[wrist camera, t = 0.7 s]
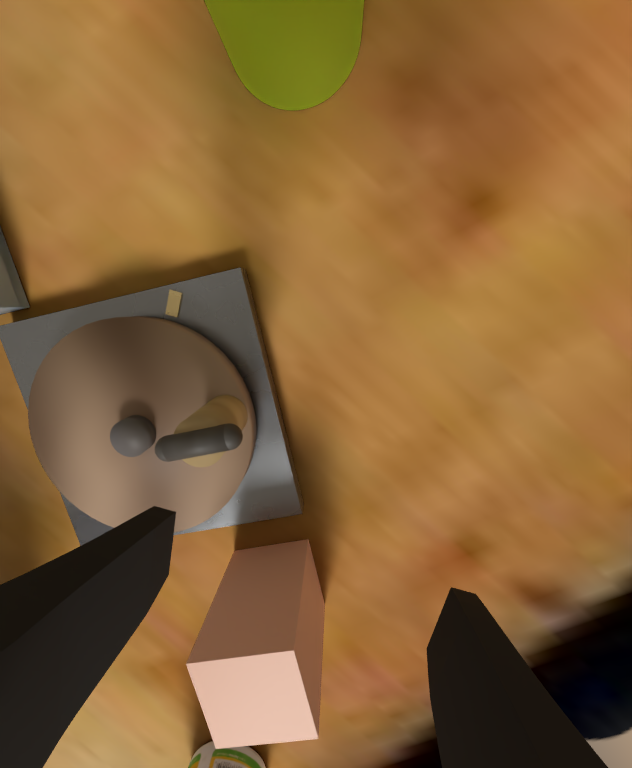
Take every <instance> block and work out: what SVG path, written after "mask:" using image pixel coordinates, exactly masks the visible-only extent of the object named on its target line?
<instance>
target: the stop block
mask: <svg viewBox="0 0 632 768" xmlns="http://www.w3.org/2000/svg"><path fill="white" fill-rule="evenodd" d="M324 612H325V603H324V599H323V595H322V591H321V587H320V583H319V579H318V575H317V571H316V567H315V563H314V559H313V555H312V551H311V547H310V543H309V539H306V540H300V541H293V542H287V543H281V544H274V545H268V546H262V547H255V548H249V549H243V550H236V551H234V553H233V555H232V558H231V560H230V562H229V565H228V567H227V569H226V572H225V574H224V576H223V579H222V581H221V583H220V586H219V588H218V590H217V593H216V595H215V597H214V600H213V602H212V604H211V607H210V609H209V611H208V614H207V616H206V618H205V621H204V623H203V626H202V628H201V630H200V633H199V635H198V637H197V640H196V642H195V644H194V647H193V649H192V651H191V654H190V656H189V658H188V661H187V663H186V665H187V668H188V671H189V674H190V676H191V679H192V682H193V685H194V688H195V691H196V694H197V696H198V699H199V702H200V705H201V708H202V711H203V713H204V716H205V719H206V722H207V725H208V728H209V731H210V733H211V736H212V739H213V742H214V745H215V748H216V749H221V748H231V747H241V746H251V745H261V744H271V743H281V742H291V741H301V740H311V739H318V737H319V716H320V695H321V674H322V654H323V633H324Z"/></svg>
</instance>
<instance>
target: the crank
mask: <svg viewBox="0 0 632 768" xmlns="http://www.w3.org/2000/svg"><path fill="white" fill-rule="evenodd" d="M28 419H29V429H30V434H31V439H32V442H33V445H34V448H35V452H36V454H37V456H38V459H39V461H40V463H41V465H42V467H43V469H44V470H45V472H46V474H47V475H48V477H49V478H50V480H51V481H52V482H53V484H54V485H55V486H56V487H57V489H58V490H59V491H60V492H61V493H62V494H63V495H64V496H65V497H66V498H67V499H68V500H69V501H70V502H71V503H72V504H74V505H75V506H76V507H77V508H78V509H80V510H81V511H83V512H84V513H86V514H87V515H89V516H90V517H92V518H94V519H96V520H97V521H99V522H101V523H103V524H106V525H108V526H111V527H113V528H115V527H117V526H119V525H120V524H122V523H124V522H126V521H128V520H129V519H131V518H133V517H135V516H137V515H138V514H140V513H142V512H144V511H146V510H148V509H149V508H151V507H153V506H157V507H160V508H164V509H167V510H171V511H175V512H176V518H175V526H174V533H175V532H179V531H183V530H186V529H189V528H192V527H194V526H197V525H199V524H201V523H202V522H204V521H206V520H208V519H209V518H211V517H212V516H213V515H215V514H216V513H217V512H219V511H220V510H221V509H222V508H223V507H224V506H225V505H226V504H227V503H228V502H229V500H230V499H231V498H232V496H233V495H234V494H235V492H236V491H237V489H238V487H239V485H240V483H241V482H242V480H243V478H244V476H245V474H246V473H247V471H248V469H249V466H250V463H251V461H252V458H253V454H254V449H255V444H256V417H255V412H254V407H253V403H252V400H251V397H250V394H249V391H248V389H247V387H246V385H245V383H244V380H243V378H242V377H241V375H240V374H239V372H238V371H237V369H236V367H235V366H234V365H233V363H232V362H231V361H230V360H229V359H228V357H227V356H226V355H225V354H224V353H223V352H222V351H221V350H220V349H219V348H218V347H217V346H216V345H215V344H213V343H212V342H211V341H209V340H208V339H207V338H205V337H204V336H202V335H201V334H199V333H197V332H196V331H194V330H192V329H190V328H188V327H186V326H183V325H181V324H178V323H176V322H173V321H169V320H165V319H161V318H155V317H146V316H135V317H115V318H109V319H103V320H99V321H95V322H92V323H89V324H86V325H84V326H82V327H80V328H78V329H76V330H74V331H72V332H71V333H69V334H68V335H67V336H65V337H64V338H62V339H61V340H60V341H59V342H58V343H57V344H56V345H55V346H54V347H53V348H52V349H51V350H50V351H49V353H48V354H47V355H46V357H45V358H44V359H43V361H42V363H41V365H40V366H39V368H38V370H37V372H36V375H35V377H34V380H33V383H32V386H31V391H30V396H29V406H28Z"/></svg>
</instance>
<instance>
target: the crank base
mask: <svg viewBox="0 0 632 768" xmlns="http://www.w3.org/2000/svg"><path fill="white" fill-rule="evenodd" d="M135 316H146V317H155V318H161V319H165V320H169V321H173V322H176V323H178V324H181V325H183V326H186V327H188V328H190V329H192V330H194V331H196V332H197V333H199V334H201V335H202V336H204V337H205V338H207V339H208V340H209V341H211V342H212V343H213V344H215V345H216V346H217V347H218V348H219V349H220V350H221V351H222V352H223V353H224V354H225V355H226V356H227V357H228V359H229V360H230V361H231V362H232V363H233V365H234V366H235V367H236V369H237V371H238V372H239V374H240V375H241V377H242V378H243V380H244V383H245V385H246V387H247V389H248V391H249V394H250V397H251V400H252V403H253V407H254V412H255V417H256V444H255V449H254V454H253V458H252V461H251V463H250V466H249V469H248V471H247V473H246V474H245V476H244V478H243V480H242V482H241V483H240V485H239V487H238V489H237V491H236V492H235V494H234V495H233V496H232V498H231V499H230V500H229V502H228V503H227V504H226V505H225V506H224V507H223V508H222V509H221V510H220V511H219V512H217V513H216V514H215V515H213V516H212V517H211V518H209V519H208V520H206V521H204V522H202V523H201V524H199V525H197V526H194V527H192V528H189V529H186V530H183V531H179V532H175V533H174V535H178V534H184V533H190V532H196V531H202V530H208V529H214V528H220V527H226V526H232V525H238V524H244V523H250V522H256V521H262V520H268V519H274V518H280V517H286V516H292V515H298V514H302V512H303V506H304V502H303V498H302V494H301V490H300V486H299V482H298V478H297V474H296V470H295V466H294V462H293V458H292V454H291V450H290V446H289V442H288V438H287V434H286V430H285V426H284V422H283V418H282V414H281V410H280V406H279V401H278V397H277V393H276V389H275V385H274V381H273V377H272V373H271V369H270V365H269V361H268V357H267V353H266V349H265V345H264V341H263V337H262V333H261V329H260V325H259V321H258V317H257V313H256V309H255V305H254V301H253V297H252V293H251V289H250V285H249V281H248V276H247V272H246V269H243V268H241V267H240V268H236V269H232V270H228V271H224V272H220V273H215V274H211V275H207V276H203V277H199V278H195V279H191V280H187V281H183V282H178V283H174V284H170V285H166V286H162V287H158V288H154V289H150V290H146V291H141V292H137V293H133V294H129V295H125V296H121V297H117V298H113V299H108V300H104V301H100V302H96V303H92V304H88V305H84V306H80V307H76V308H71V309H67V310H63V311H59V312H55V313H51V314H47V315H43V316H39V317H34V318H30V319H26V320H22V321H18V322H14V323H10V324H6V325H2V326H0V339H1V342H2V344H3V347H4V349H5V352H6V354H7V357H8V360H9V362H10V365H11V367H12V370H13V372H14V375H15V378H16V380H17V383H18V385H19V388H20V390H21V393H22V396H23V398H24V401H25V403H26V406H27V408H28V406H29V396H30V391H31V386H32V383H33V380H34V377H35V375H36V372H37V370H38V368H39V366H40V365H41V363H42V361H43V359H44V358H45V357H46V355H47V354H48V353H49V351H50V350H51V349H52V348H53V347H54V346H55V345H56V344H57V343H58V342H59V341H60V340H61V339H62V338H64V337H65V336H67V335H68V334H69V333H71V332H72V331H74V330H76V329H78V328H80V327H82V326H84V325H86V324H89V323H92V322H95V321H99V320H103V319H109V318H115V317H135ZM60 493H61V492H60ZM61 496H62V499H63V501H64V504H65V506H66V509H67V511H68V514H69V517H70V519H71V522H72V524H73V527H74V529H75V532H76V535H77V537H78V540H79V542H80V545H81V546H82V545H83V544H85V543H87V542H89V541H91V540H93V539H95V538H97V537H99V536H100V535H102V534H104V533H106V532H108V531H109V530H111V529H113V527H111V526H108V525H106V524H103V523H101V522H99V521H97V520H96V519H94V518H92V517H90V516H89V515H87V514H86V513H84V512H83V511H81V510H80V509H78V508H77V507H76V506H75V505H74V504H72V503H71V502H70V501H69V500H68V499H67V498H66V497H65V496H64V495H63V494H62V493H61Z"/></svg>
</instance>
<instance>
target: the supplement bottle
mask: <svg viewBox="0 0 632 768" xmlns="http://www.w3.org/2000/svg"><path fill="white" fill-rule="evenodd" d="M188 768H266V767H265V764H264V762H263V760H262V758H261V757H260V756H259V755H258V753H257V752H255V751H254V750H253V749H252V748H250V747H249V746H241V747H231V748H221V749H216V748H215V745H214V742H213V741H212V742H209V743H207V744H205V745H203V746H202V747H200V748H199V749H198V750H197V751H196V752H195V754H194V755H193V757H192V759H191V761H190V764H189V767H188Z"/></svg>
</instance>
